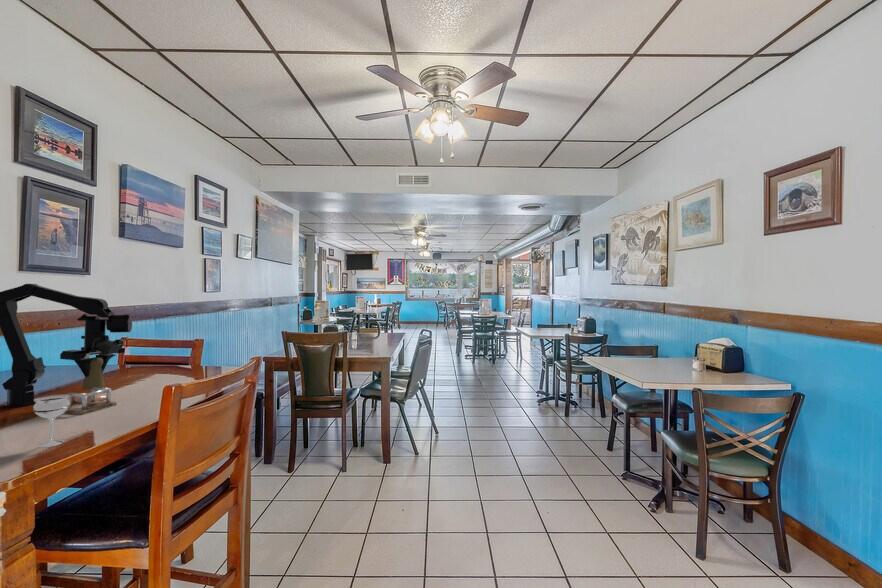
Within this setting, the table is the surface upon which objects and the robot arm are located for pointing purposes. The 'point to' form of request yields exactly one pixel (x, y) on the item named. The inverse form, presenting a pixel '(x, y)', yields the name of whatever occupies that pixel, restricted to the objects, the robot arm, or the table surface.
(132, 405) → the table surface
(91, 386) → the olive green tapered cylinder
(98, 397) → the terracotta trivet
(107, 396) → the silver twin cylinder holder
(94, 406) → the base
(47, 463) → the table surface
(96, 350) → the robot arm
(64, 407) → the wineglass
